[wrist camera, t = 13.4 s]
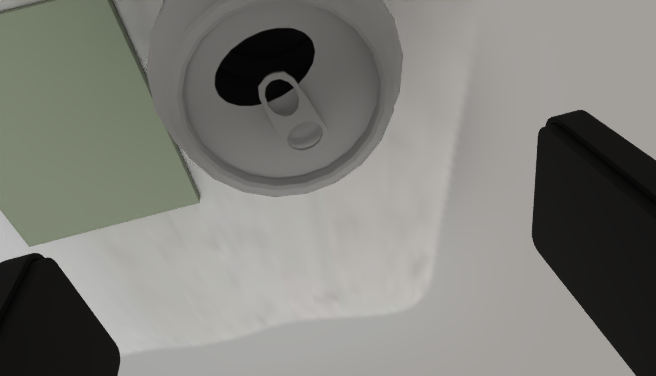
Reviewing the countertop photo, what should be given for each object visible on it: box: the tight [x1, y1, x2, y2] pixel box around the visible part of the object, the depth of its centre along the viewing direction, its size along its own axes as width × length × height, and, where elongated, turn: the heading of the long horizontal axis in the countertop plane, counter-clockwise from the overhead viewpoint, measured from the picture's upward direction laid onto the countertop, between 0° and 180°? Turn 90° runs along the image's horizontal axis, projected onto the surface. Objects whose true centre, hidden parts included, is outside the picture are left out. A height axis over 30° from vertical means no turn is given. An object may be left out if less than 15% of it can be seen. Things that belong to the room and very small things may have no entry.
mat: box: [0, 0, 200, 247], centre depth 24 cm, size 12×10×1 cm
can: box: [147, 0, 403, 197], centre depth 18 cm, size 8×8×12 cm
